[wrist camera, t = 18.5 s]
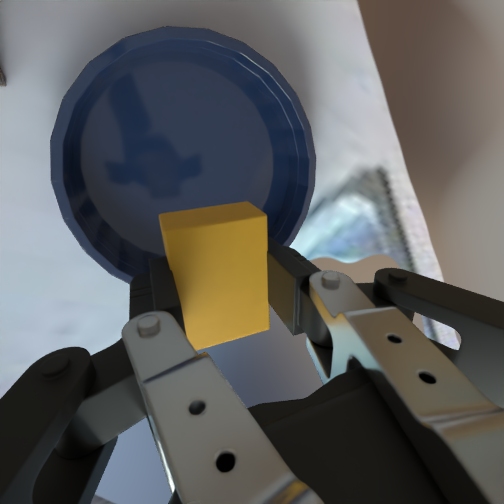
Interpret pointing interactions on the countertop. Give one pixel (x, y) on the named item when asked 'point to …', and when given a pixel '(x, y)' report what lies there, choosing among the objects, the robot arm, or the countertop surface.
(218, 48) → the bowl
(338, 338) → the robot arm
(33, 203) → the countertop surface
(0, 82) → the box
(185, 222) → the block
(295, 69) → the countertop surface
